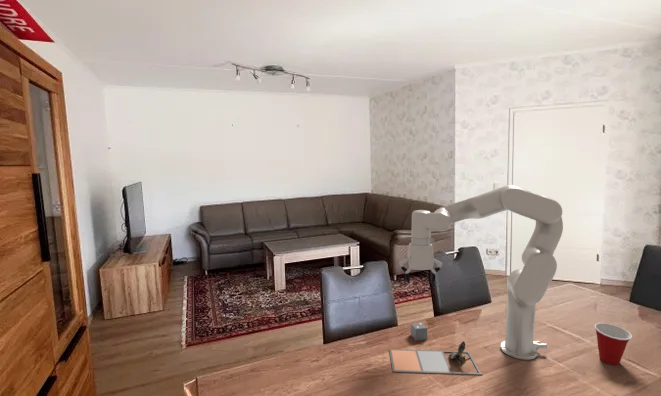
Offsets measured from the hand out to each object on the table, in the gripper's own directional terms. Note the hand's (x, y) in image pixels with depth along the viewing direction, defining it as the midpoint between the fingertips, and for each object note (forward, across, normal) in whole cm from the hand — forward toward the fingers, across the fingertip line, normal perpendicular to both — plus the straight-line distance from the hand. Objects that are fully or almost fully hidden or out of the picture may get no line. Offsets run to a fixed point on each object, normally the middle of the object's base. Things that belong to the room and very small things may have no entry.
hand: (420, 282), depth 148 cm
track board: (+23, -2, +18) cm, 30 cm away
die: (+23, 0, 0) cm, 23 cm away
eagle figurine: (+24, -12, +17) cm, 31 cm away
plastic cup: (+24, -66, +14) cm, 71 cm away
